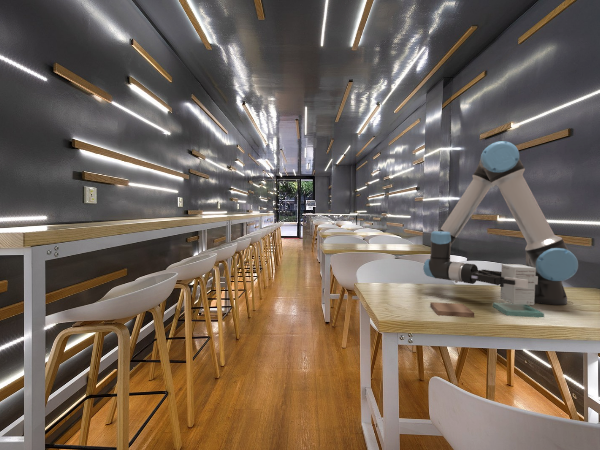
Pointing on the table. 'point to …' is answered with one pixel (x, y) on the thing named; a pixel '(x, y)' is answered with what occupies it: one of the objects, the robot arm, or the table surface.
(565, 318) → the table surface
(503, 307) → the plate
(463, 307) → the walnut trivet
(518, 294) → the supplement box
